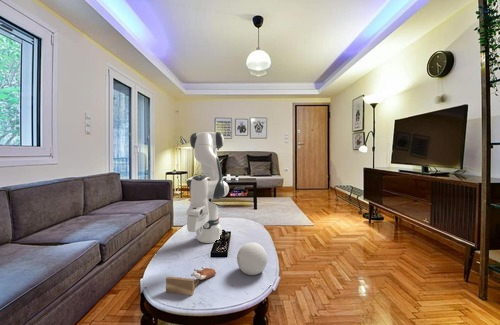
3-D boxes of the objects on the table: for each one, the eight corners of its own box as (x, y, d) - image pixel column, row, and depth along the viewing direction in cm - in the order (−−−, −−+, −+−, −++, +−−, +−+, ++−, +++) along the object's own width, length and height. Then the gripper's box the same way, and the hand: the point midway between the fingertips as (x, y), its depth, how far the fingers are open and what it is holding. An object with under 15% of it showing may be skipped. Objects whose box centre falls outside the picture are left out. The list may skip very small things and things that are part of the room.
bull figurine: (186, 267, 109) (196, 272, 104) (208, 265, 119) (219, 270, 114) (184, 277, 109) (194, 283, 103) (207, 274, 118) (217, 279, 113)
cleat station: (176, 280, 109) (176, 268, 109) (201, 283, 107) (201, 270, 107) (165, 292, 100) (165, 278, 100) (192, 295, 98) (192, 280, 98)
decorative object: (243, 264, 127) (244, 236, 127) (270, 269, 122) (271, 240, 121) (231, 277, 113) (231, 246, 113) (261, 283, 108) (261, 250, 107)
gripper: (201, 203, 131) (200, 228, 131) (184, 212, 110) (184, 241, 111) (212, 204, 129) (211, 229, 130) (197, 213, 109) (197, 242, 110)
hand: (199, 235), depth 120 cm, fingers closed
